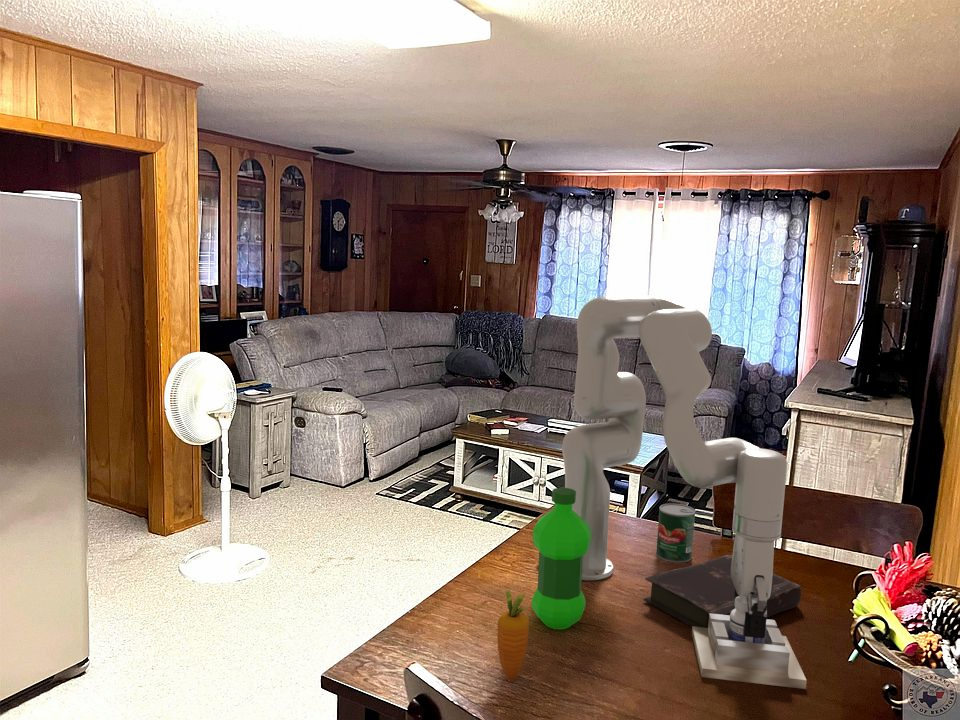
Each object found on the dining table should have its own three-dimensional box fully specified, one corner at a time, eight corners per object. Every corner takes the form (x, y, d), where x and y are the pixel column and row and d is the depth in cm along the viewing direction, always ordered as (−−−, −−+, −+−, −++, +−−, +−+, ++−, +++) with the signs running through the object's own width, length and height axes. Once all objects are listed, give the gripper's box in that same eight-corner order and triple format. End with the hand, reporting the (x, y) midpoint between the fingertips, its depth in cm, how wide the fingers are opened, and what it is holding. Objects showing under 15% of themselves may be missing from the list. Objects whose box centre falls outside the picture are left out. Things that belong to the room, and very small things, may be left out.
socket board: (701, 676, 121) (703, 648, 121) (691, 634, 135) (693, 607, 134) (805, 689, 119) (808, 659, 118) (785, 644, 132) (787, 617, 132)
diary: (801, 609, 146) (803, 585, 146) (717, 643, 132) (720, 616, 132) (722, 573, 162) (724, 550, 161) (640, 599, 147) (642, 575, 147)
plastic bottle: (589, 614, 141) (596, 486, 138) (579, 641, 131) (587, 504, 128) (537, 605, 144) (543, 479, 141) (524, 630, 134) (529, 496, 131)
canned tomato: (656, 560, 167) (659, 513, 166) (656, 547, 175) (659, 501, 173) (692, 564, 165) (696, 516, 164) (691, 551, 173) (694, 505, 171)
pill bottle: (757, 643, 129) (759, 594, 128) (765, 659, 124) (768, 608, 123) (725, 642, 130) (727, 593, 129) (732, 657, 124) (735, 606, 123)
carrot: (493, 673, 120) (496, 585, 118) (524, 673, 121) (528, 585, 119) (497, 691, 116) (500, 599, 113) (529, 691, 116) (533, 599, 114)
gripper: (725, 505, 132) (717, 596, 135) (742, 542, 116) (733, 645, 118) (769, 508, 131) (761, 601, 134) (793, 546, 114) (783, 651, 117)
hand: (748, 622), depth 126 cm, fingers open, 9 cm apart
